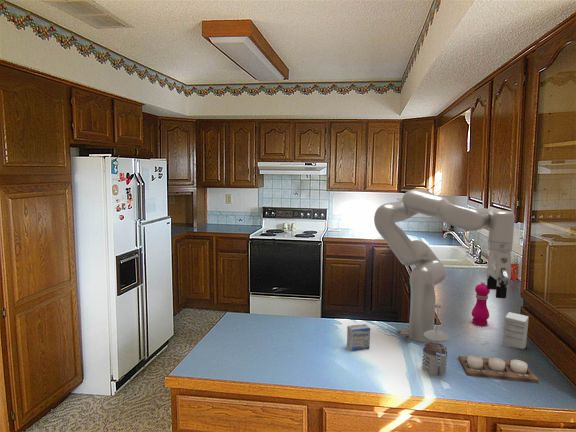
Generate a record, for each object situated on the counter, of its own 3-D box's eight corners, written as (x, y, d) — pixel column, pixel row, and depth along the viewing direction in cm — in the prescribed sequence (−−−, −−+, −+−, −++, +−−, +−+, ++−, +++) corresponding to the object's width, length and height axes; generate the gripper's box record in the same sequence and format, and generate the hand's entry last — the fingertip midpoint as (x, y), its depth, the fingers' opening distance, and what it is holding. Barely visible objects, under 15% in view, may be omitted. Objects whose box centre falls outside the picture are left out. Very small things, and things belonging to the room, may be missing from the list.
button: (490, 372, 137) (491, 363, 137) (486, 365, 142) (486, 356, 141) (506, 374, 136) (507, 365, 136) (501, 366, 141) (502, 358, 141)
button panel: (466, 379, 135) (466, 371, 135) (458, 362, 147) (458, 355, 147) (538, 386, 131) (538, 379, 131) (523, 368, 143) (524, 361, 143)
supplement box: (505, 341, 165) (508, 311, 164) (526, 346, 161) (529, 316, 159) (501, 347, 160) (504, 316, 158) (523, 353, 155) (526, 321, 153)
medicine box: (351, 351, 154) (351, 330, 153) (346, 346, 158) (347, 325, 157) (369, 349, 156) (370, 328, 155) (364, 344, 160) (365, 323, 159)
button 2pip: (512, 374, 136) (513, 366, 135) (507, 367, 141) (508, 358, 140) (529, 376, 135) (530, 367, 134) (523, 369, 140) (524, 360, 139)
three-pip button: (468, 370, 138) (469, 361, 138) (465, 363, 143) (465, 354, 143) (484, 372, 137) (485, 363, 137) (480, 364, 142) (480, 356, 142)
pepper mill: (490, 327, 179) (494, 283, 176) (473, 326, 180) (476, 282, 177) (486, 321, 186) (489, 279, 183) (469, 319, 187) (472, 278, 184)
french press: (441, 366, 144) (446, 298, 141) (456, 384, 132) (461, 311, 129) (414, 366, 144) (418, 298, 140) (426, 384, 132) (431, 310, 129)
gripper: (521, 251, 131) (516, 302, 134) (502, 241, 148) (498, 286, 151) (496, 250, 133) (492, 300, 135) (481, 240, 150) (477, 285, 152)
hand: (495, 293), depth 143 cm, fingers open, 9 cm apart
